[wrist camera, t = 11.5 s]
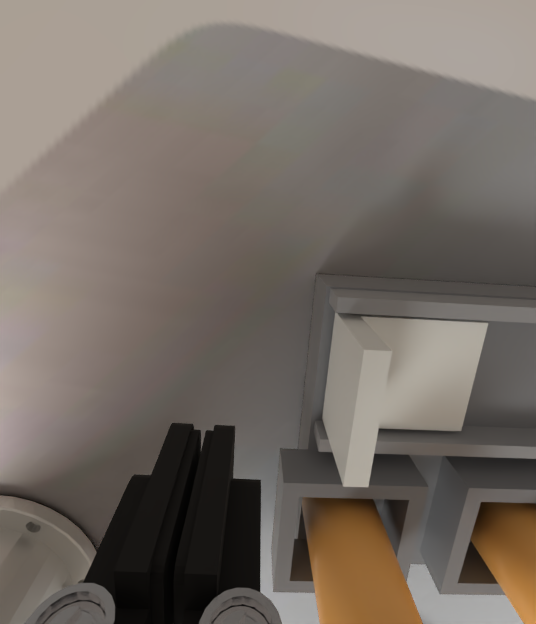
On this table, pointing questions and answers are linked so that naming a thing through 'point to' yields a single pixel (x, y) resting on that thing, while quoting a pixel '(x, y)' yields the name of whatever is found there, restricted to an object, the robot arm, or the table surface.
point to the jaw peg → (510, 551)
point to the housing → (407, 462)
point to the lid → (395, 381)
